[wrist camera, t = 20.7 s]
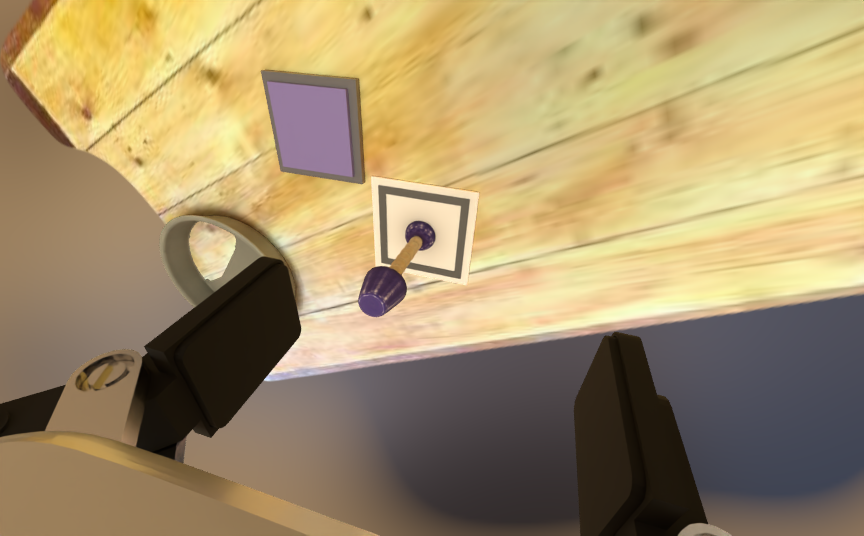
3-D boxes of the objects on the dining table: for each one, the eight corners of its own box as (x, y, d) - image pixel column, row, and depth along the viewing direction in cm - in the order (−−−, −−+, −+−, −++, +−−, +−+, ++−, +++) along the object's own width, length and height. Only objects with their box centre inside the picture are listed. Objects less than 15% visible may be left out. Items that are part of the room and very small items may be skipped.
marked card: (479, 192, 43) (478, 193, 42) (467, 284, 51) (466, 286, 50) (371, 175, 46) (370, 176, 45) (376, 265, 53) (375, 267, 53)
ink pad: (358, 78, 40) (353, 80, 38) (365, 182, 46) (360, 185, 45) (265, 69, 42) (257, 70, 41) (284, 169, 49) (278, 172, 48)
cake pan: (282, 209, 53) (262, 222, 49) (318, 331, 66) (305, 348, 63) (156, 199, 59) (131, 210, 56) (213, 312, 73) (195, 327, 69)
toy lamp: (397, 227, 48) (340, 300, 35) (421, 209, 46) (370, 279, 32) (419, 253, 50) (373, 333, 36) (444, 237, 47) (405, 316, 34)
